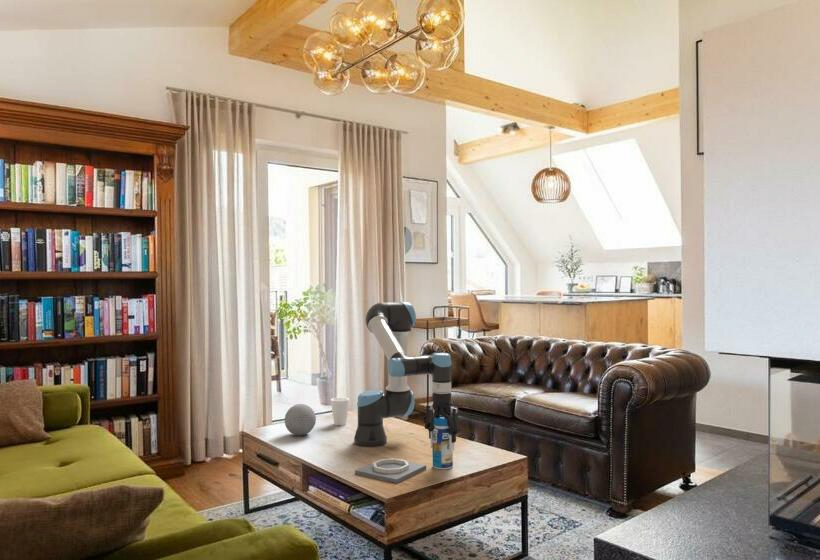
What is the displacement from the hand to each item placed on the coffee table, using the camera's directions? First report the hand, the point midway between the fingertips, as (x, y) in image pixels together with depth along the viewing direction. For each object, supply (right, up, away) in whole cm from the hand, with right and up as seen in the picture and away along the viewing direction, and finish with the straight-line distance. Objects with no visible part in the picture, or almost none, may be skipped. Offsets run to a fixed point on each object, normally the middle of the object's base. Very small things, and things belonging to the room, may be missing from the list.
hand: (442, 448), depth 243 cm
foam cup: (-49, -8, +73) cm, 88 cm away
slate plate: (-21, -7, -5) cm, 22 cm away
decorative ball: (-66, -8, +52) cm, 84 cm away
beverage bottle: (0, -7, 0) cm, 7 cm away
